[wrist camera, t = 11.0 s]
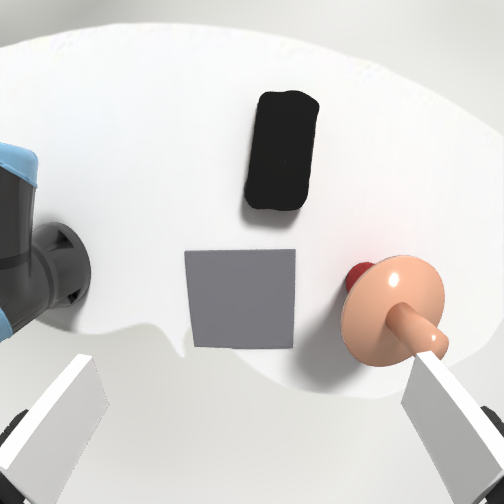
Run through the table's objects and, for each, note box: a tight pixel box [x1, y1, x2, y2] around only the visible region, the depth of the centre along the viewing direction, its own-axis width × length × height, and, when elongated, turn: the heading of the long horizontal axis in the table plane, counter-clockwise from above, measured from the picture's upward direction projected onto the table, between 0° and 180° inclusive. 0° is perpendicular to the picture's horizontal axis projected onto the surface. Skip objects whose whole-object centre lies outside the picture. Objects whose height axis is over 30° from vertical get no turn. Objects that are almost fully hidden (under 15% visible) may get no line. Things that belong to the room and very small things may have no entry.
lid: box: [340, 255, 449, 367], centre depth 27 cm, size 14×14×9 cm
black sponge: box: [244, 90, 319, 211], centre depth 38 cm, size 16×8×4 cm, turn 172°
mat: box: [185, 249, 295, 348], centre depth 44 cm, size 16×16×1 cm
